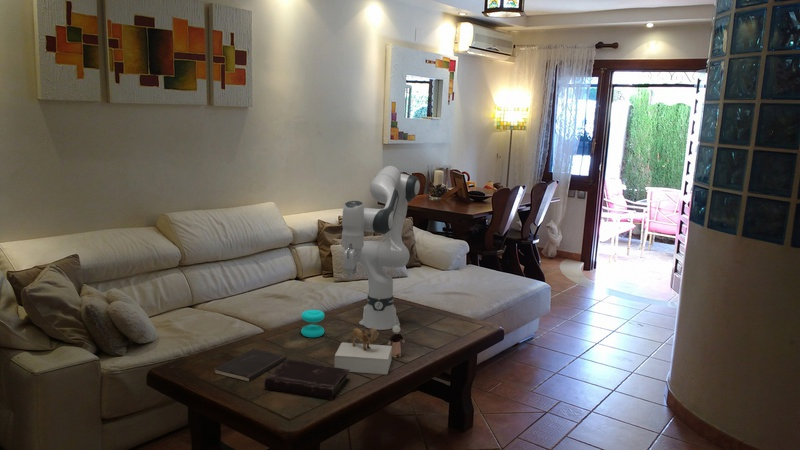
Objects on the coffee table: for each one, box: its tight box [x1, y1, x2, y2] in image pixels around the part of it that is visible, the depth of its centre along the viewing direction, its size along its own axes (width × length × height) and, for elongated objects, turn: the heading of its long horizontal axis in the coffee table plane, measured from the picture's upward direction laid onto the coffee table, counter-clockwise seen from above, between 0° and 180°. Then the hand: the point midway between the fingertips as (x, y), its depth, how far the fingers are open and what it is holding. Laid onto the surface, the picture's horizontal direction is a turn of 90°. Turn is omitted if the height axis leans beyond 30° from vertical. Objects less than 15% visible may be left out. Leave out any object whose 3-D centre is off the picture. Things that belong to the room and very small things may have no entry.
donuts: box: [300, 309, 326, 339], centre depth 271 cm, size 10×10×10 cm
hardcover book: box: [213, 348, 288, 383], centre depth 235 cm, size 16×23×2 cm
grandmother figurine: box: [387, 325, 406, 358], centre depth 250 cm, size 8×4×13 cm, turn 134°
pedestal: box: [334, 341, 393, 375], centre depth 239 cm, size 14×20×6 cm
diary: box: [263, 358, 351, 401], centre depth 221 cm, size 19×25×5 cm
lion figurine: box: [347, 327, 380, 351], centre depth 242 cm, size 15×5×9 cm, turn 54°
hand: (351, 276), depth 250 cm, fingers open, 8 cm apart
